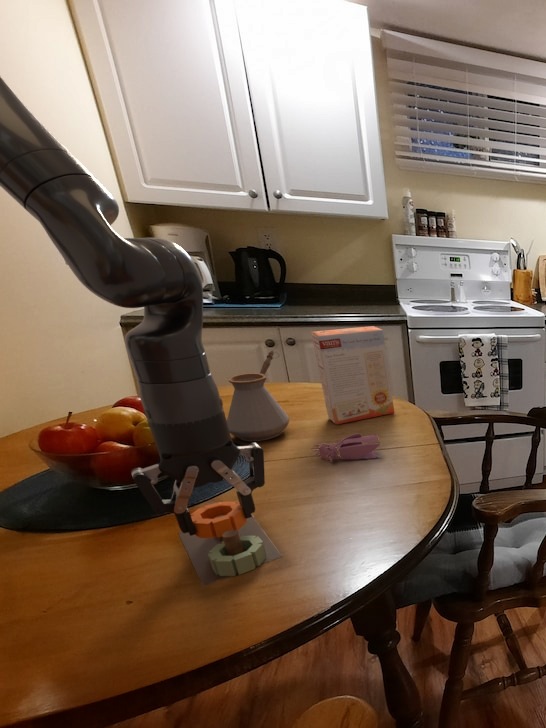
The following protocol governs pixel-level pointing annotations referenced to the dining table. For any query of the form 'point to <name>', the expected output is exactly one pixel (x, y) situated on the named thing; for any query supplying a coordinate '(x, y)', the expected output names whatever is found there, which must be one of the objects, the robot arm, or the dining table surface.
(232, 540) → the rack
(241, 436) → the coffee pot
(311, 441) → the dining table surface
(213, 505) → the orange grooved ring
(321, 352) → the cracker box
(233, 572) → the green ring
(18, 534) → the dining table surface
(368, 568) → the dining table surface
